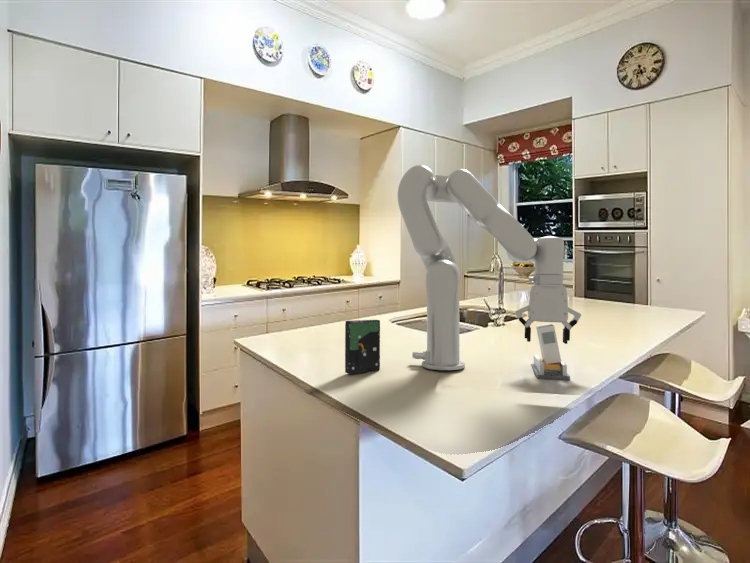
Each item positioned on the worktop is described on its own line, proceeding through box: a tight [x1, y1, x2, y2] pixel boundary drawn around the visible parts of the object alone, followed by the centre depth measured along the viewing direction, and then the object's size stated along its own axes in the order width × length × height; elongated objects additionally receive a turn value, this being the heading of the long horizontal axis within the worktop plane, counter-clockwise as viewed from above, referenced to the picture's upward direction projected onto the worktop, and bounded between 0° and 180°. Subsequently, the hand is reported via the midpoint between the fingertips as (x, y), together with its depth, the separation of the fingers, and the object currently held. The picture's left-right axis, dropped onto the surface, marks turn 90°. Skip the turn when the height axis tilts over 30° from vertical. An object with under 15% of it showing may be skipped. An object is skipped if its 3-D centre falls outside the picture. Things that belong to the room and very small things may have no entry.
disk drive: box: [344, 319, 381, 375], centre depth 126 cm, size 10×3×15 cm, turn 120°
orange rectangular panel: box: [539, 357, 560, 370], centre depth 124 cm, size 4×11×1 cm, turn 166°
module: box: [535, 322, 562, 364], centre depth 124 cm, size 4×7×10 cm, turn 166°
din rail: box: [530, 354, 571, 381], centre depth 124 cm, size 8×16×4 cm, turn 166°
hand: (546, 342), depth 124 cm, fingers open, 9 cm apart
